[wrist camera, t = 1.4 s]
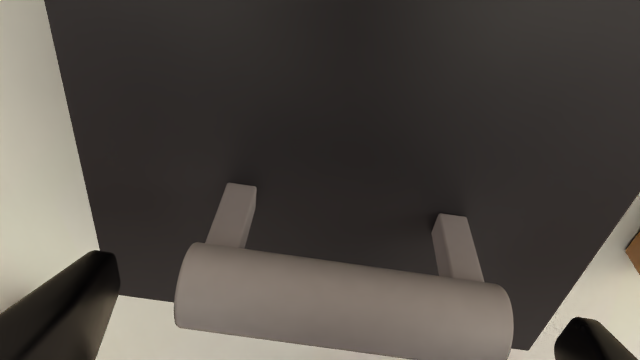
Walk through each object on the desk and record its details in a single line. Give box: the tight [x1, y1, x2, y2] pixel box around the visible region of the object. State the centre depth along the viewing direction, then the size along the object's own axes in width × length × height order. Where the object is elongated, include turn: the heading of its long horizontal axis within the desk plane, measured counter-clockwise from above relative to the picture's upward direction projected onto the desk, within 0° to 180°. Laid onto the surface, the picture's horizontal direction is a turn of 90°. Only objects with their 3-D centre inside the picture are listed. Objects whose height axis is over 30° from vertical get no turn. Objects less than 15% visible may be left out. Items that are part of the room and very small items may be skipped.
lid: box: [44, 0, 640, 360], centre depth 9 cm, size 13×13×4 cm
